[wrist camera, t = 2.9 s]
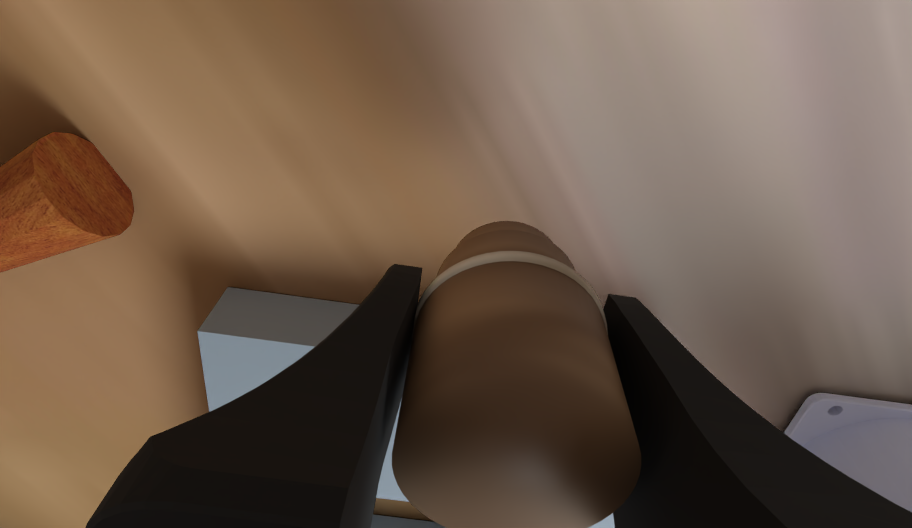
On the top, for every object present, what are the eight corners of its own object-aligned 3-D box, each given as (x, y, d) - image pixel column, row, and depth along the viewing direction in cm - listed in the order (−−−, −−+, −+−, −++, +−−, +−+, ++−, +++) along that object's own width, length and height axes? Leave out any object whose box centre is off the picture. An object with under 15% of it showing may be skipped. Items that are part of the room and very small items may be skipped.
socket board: (663, 345, 21) (683, 395, 18) (544, 616, 31) (549, 667, 29) (228, 286, 20) (197, 331, 18) (258, 582, 31) (241, 632, 29)
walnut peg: (607, 209, 13) (682, 396, 8) (565, 342, 15) (604, 556, 10) (434, 184, 13) (399, 358, 8) (416, 322, 15) (380, 527, 10)
